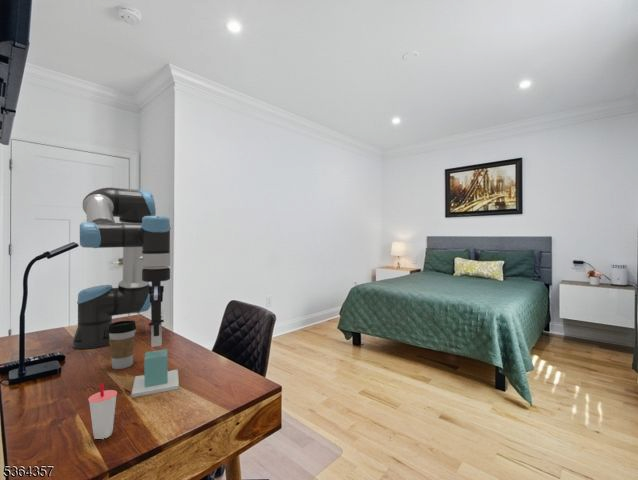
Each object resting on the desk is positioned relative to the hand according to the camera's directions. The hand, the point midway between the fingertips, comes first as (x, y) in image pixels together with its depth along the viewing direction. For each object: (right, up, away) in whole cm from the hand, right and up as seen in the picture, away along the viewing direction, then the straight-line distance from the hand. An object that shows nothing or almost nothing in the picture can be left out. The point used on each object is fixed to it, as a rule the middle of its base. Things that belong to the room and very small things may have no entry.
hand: (156, 345), depth 94 cm
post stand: (0, -12, 0) cm, 12 cm away
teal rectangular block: (0, -11, 0) cm, 11 cm away
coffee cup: (-19, -12, +13) cm, 26 cm away
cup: (0, -12, -24) cm, 27 cm away
